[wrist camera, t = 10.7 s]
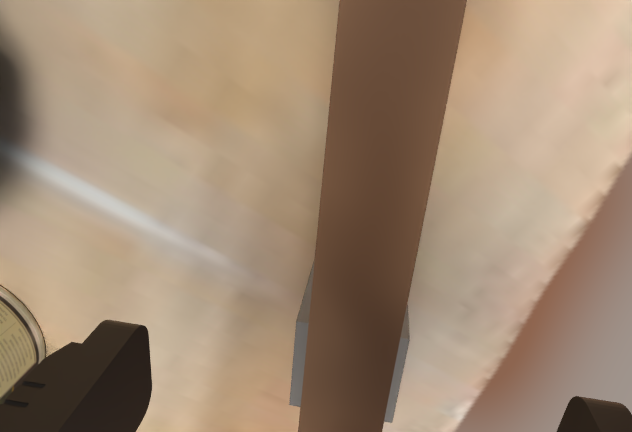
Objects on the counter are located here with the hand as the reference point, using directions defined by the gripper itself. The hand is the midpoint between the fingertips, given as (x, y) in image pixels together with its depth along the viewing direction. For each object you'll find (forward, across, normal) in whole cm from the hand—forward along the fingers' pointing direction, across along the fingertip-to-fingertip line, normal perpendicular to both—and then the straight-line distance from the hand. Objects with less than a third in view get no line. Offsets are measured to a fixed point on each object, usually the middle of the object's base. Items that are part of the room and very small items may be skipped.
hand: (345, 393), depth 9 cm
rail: (+10, 0, 0) cm, 10 cm away
